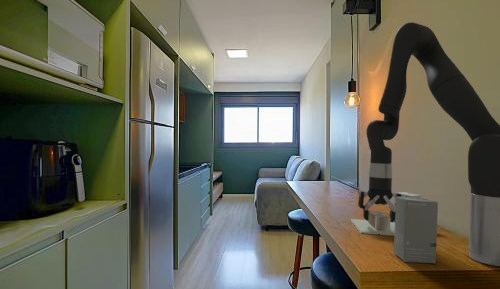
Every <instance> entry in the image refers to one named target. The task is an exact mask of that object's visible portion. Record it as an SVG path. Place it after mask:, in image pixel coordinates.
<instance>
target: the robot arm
mask: <svg viewBox="0 0 500 289" xmlns="http://www.w3.org/2000/svg"><path fill="white" fill-rule="evenodd" d="M412 56H413V57H414V58H415V59H416V60H417V61H418V62H419V63H420V65H421V67H423V69H424V71H425V74H426V81H427V85H428V89H429V92H430V93H431V94H432V96H433V97H434V99H435V100H436V102H437V103H438V105H439V106H440V107H441V109H442V110H443V111H444V112H445V113H446V114H447V115H448V116H450V117H451V119H453V121H455V122H456V123H457V124H458V125H459V126H460V127H461V128H462V129H463V130H464V131H465V132H466V134H467V135H468V137H469V139H470V140H471V143H470V145H469V148H468V152H467V175H468V176H467V178H468V179H467V180H468V184H469V186H470V202H469V203H470V206H469V208H470V212H469V213H470V214H469V237H468V238H469V239H468V244H469V245H468V252H469V253H468V256H469V258H470V259H472V260H473V261H476V262H479V263H481V264H485V265H489V266H496V267H500V124H499V123H498V122H497V121H496V120H495V118H494V117H493V116H492V115H491V113H490V112H489V110H488V108H487V107H486V105H485V104H484V102H483V100H482V99H481V97H480V96H479V95H478V93H477V91H476V90H475V89H474V87H473V85H472V84H471V83H470V82H469V80H468V79H467V78H466V76H465V75H464V74H463V73H462V71H461V70H460V69H459V68H458V67H457V65H456V64H455V63H454V62H453V61H452V59H451V58H450V57H449V56H448V55H447V53H446V52H445V50H444V49H443V47H442V45H441V44H440V41H439V39H438V37H437V36H436V34H435V33H434V31H433V30H432V29H431V28H430V27H428V26H426V25H423V24H420V23H416V22H413V21H412V22H406V23H404V24H403V25H401V26H400V27H399V28H398V30H397V31H396V33H395V35H394V39H393V43H392V50H391V55H390V61H389V65H388V66H389V67H388V73H387V74H388V75H387V79H386V83H385V87H384V88H383V92H382V95H381V99H380V101H379V104H378V112H379V113H380V114H382V115H383V120H380V119H375V120H371V121H370V122H369V123H368V125H367V127H366V140H367V143H368V146H369V150H370V161H369V162H370V163H369V170H368V191H363V190H359V194H358V204H357V206H358V208H360V209H362V210H363V214H362V217H363V220H366V221H368V217H369V211H370V210H369V209H371V207H372V206H373V205H374V204H375V205H383V206H385V205H387V207H388V208H389V209H390V210H389V217H390V222H394V221H395V213H396V207H394V206H395V205H394V204H393V203H392V201H391V199H392V198H393V199H394V200H395V199H396V197H401V194H400V193H398V192H393V191H392V190H393V189H392V185H393V167H392V163H393V162H392V160H393V159H392V158H393V155H392V154H393V153H392V152H393V151H392V148H390V147H389V146H386V145H385V141H391V140H393V139H394V138H395V137H396V135H397V134H398V131H399V127H400V112H401V109H402V106H403V103H404V101H405V97H406V94H407V88H408V86H407V73H408V72H407V71H408V65H409V62H410V59H411V57H412ZM367 196H368V198H369V199H368V200H367V201H366V203H365V204H364V200H365V199H366V197H367ZM394 223H395V222H394Z"/></svg>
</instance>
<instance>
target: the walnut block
mask: <svg viewBox="0 0 500 289" xmlns="http://www.w3.org/2000/svg"><path fill="white" fill-rule="evenodd" d="M368 211H369V217H368V223H369V224H370V225H371V226H372V227H374V228H375V229H376V230H381V231H390V216H388V215H387V214H386V213H384V212H383V211H380V210H368Z"/></svg>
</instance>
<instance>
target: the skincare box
mask: <svg viewBox="0 0 500 289" xmlns="http://www.w3.org/2000/svg"><path fill="white" fill-rule="evenodd" d="M438 203H439V202H438V201H436V200H431V199H426V198H421V199H420V198H409V197H396V213H395V222H394V223H395V236H393V237H394V239H393V241H394V242H393V243H394V244H393V254H394V255H395V256H397V257H398V258H399V259H400V260H402V261H403V262H404V263H417V264H418V263H419V264H436V263H437V245H438V244H437V240H438V235H437V234H438V212H439V211H438V209H439V207H438V206H439V204H438Z"/></svg>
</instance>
